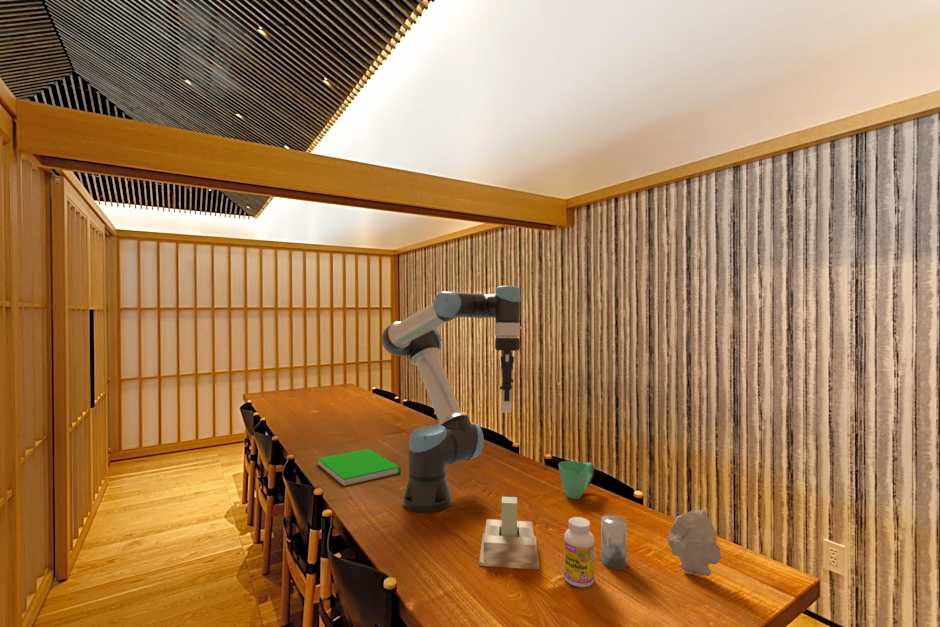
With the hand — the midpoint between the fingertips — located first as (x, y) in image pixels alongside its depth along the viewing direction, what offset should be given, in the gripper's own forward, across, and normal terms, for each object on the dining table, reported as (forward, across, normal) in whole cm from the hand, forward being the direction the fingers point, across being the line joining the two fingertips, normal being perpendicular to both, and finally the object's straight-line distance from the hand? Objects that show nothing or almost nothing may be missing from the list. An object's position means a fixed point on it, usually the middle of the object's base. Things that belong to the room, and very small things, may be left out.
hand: (506, 407), depth 128 cm
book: (+32, +33, +58) cm, 74 cm away
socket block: (+32, -21, -1) cm, 38 cm away
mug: (+32, +18, -24) cm, 44 cm away
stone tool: (+32, -26, -43) cm, 60 cm away
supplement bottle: (+32, -31, -17) cm, 47 cm away
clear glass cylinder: (+32, -23, -26) cm, 47 cm away
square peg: (+31, -21, -1) cm, 37 cm away
